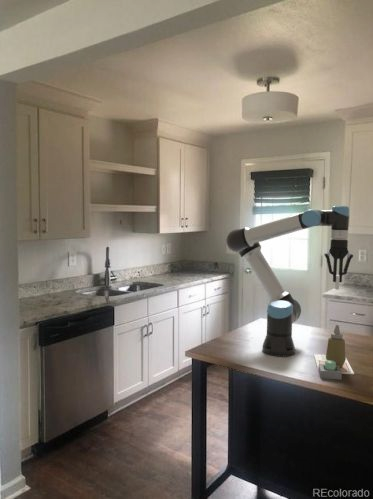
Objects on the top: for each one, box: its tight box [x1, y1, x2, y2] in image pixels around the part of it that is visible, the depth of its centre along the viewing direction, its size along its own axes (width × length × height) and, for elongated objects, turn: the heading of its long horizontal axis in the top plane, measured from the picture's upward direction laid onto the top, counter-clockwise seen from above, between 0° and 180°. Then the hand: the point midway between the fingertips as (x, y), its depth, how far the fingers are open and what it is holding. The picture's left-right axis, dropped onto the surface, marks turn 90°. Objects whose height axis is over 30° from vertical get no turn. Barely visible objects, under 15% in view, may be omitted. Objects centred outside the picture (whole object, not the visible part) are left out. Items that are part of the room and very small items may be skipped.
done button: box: [324, 360, 336, 371], centre depth 172 cm, size 4×4×5 cm
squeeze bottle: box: [325, 324, 347, 368], centre depth 180 cm, size 8×8×18 cm
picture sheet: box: [313, 353, 355, 375], centre depth 185 cm, size 14×21×1 cm, turn 169°
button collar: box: [317, 364, 343, 381], centre depth 172 cm, size 8×8×3 cm
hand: (336, 288), depth 200 cm, fingers closed
